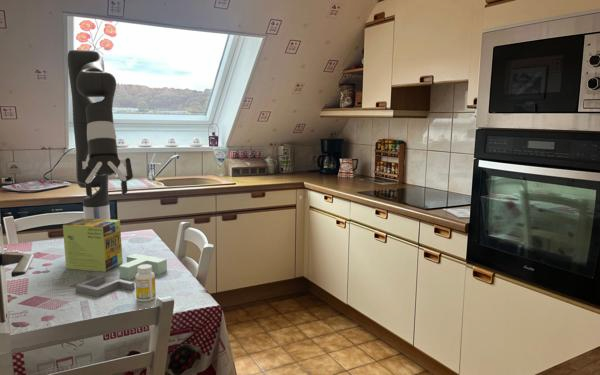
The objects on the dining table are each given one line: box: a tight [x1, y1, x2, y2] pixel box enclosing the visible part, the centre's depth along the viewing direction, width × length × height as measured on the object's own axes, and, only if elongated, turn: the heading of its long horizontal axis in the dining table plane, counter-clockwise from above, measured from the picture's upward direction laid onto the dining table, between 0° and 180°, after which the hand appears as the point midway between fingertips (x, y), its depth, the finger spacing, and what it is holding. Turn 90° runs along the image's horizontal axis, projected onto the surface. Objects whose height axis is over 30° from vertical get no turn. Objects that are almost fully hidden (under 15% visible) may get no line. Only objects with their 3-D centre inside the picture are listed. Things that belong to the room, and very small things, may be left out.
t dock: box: [75, 272, 136, 298], centre depth 147 cm, size 19×10×2 cm, turn 63°
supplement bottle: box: [134, 264, 157, 303], centre depth 139 cm, size 5×5×10 cm
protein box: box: [62, 217, 124, 273], centre depth 167 cm, size 10×15×16 cm
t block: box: [118, 253, 168, 281], centre depth 161 cm, size 12×14×4 cm
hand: (107, 196), depth 135 cm, fingers open, 8 cm apart
